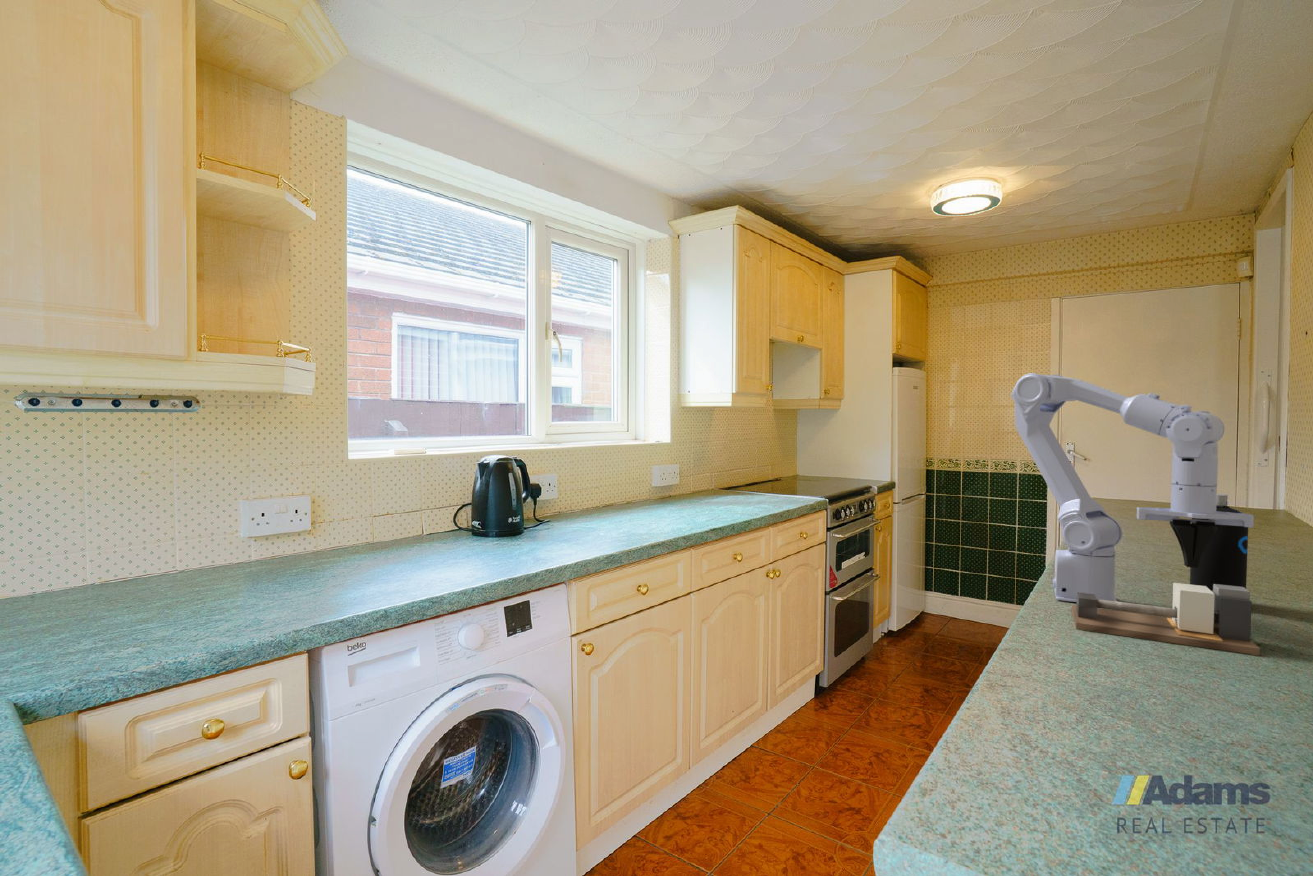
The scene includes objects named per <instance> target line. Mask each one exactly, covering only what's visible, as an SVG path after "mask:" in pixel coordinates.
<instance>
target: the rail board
mask: <svg viewBox="0 0 1313 876" xmlns="http://www.w3.org/2000/svg"><path fill="white" fill-rule="evenodd" d="M1070 607H1071V613H1072V614H1071V615H1072V619H1073V622H1074V626H1075V629H1076V630H1081V631H1089V632H1095V633H1103V634H1109V635H1110V634H1111V635H1117V636H1122V637H1129V638H1136V639H1142V640H1150V641H1157V642H1164V643H1170V644H1171V643H1172V644H1177V645H1185V646H1191V647H1200V648H1206V649H1213V650H1218V651H1225V652H1226V651H1227V652H1232V653H1233V652H1234V653H1238V654H1246V655H1252V656H1254V655H1255V656H1260V655H1261V648H1260V647H1259V646H1258V645H1257V644H1256V643H1255V642H1254V641H1252V639H1250V642H1248V641H1241V640H1234V639H1227V638H1220V637H1219V636H1218V635H1217V634H1216V633H1215V631H1214V630H1213V634H1210V633H1202V632H1195V631H1188V630H1180V629H1178V627H1177V626H1176V625H1175V623H1174V622H1173V621H1172V617H1173V618H1177V609H1173V608H1171V607H1165V606H1164V607H1163V606H1156V605H1148V604H1147V605H1146V604H1139V603H1132V602H1124V601H1118V600H1117V601H1109V600H1101V599H1097V598H1096V596H1095V594H1088V593H1080V592H1077V602H1076V605H1075V604H1071V606H1070ZM1214 623H1216V614H1214Z"/></svg>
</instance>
